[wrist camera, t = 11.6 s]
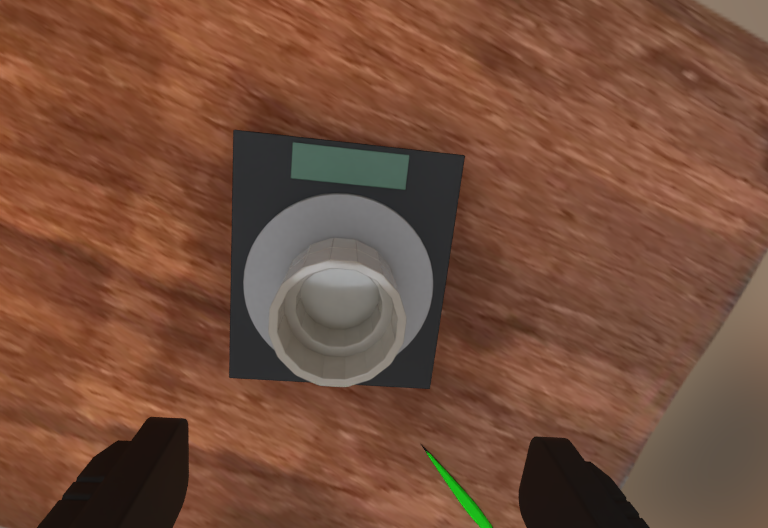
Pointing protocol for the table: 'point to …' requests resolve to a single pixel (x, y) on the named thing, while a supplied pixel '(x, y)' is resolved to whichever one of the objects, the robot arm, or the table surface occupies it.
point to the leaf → (462, 496)
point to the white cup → (337, 314)
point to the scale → (339, 236)
